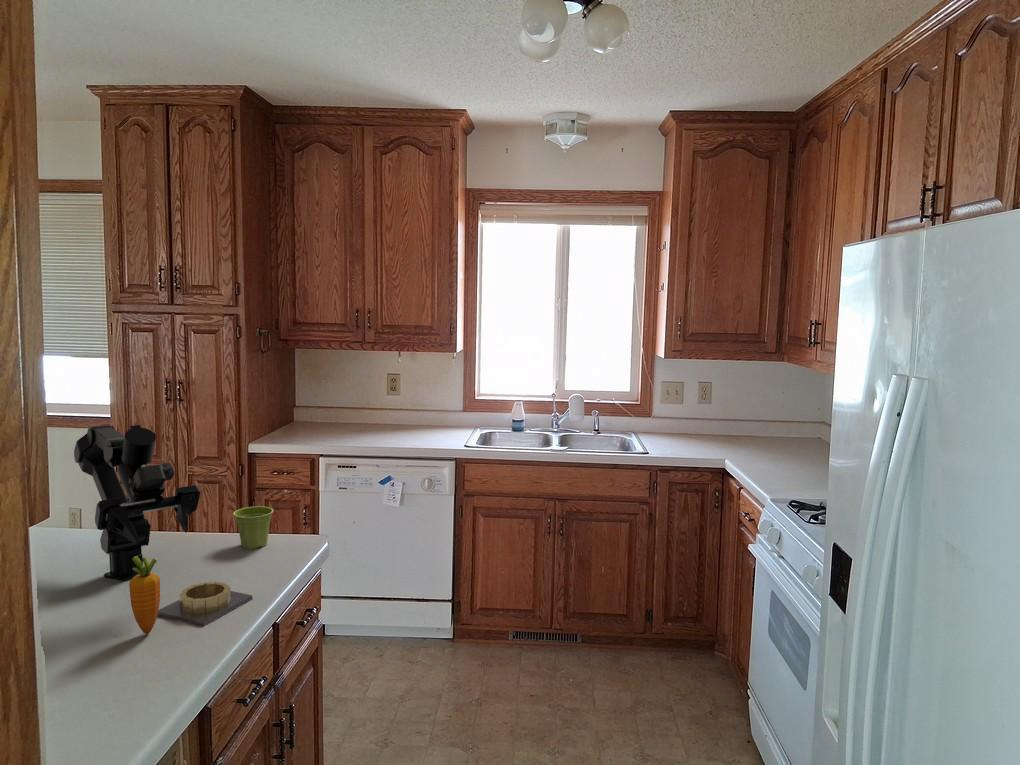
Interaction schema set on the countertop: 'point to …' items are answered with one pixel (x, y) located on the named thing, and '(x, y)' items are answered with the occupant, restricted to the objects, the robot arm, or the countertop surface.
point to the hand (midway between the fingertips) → (162, 536)
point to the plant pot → (253, 525)
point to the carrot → (145, 594)
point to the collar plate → (204, 616)
